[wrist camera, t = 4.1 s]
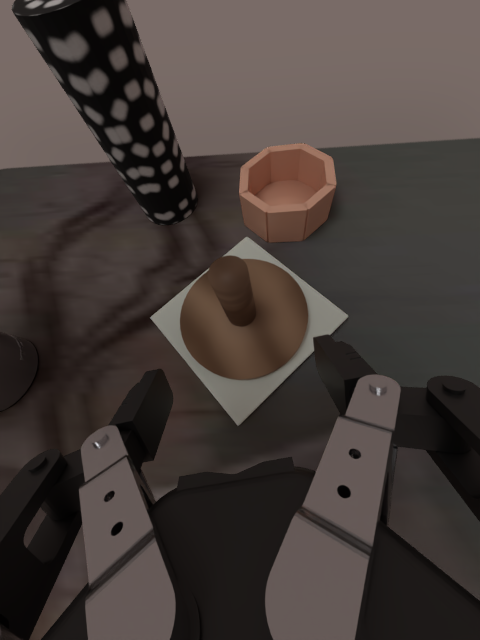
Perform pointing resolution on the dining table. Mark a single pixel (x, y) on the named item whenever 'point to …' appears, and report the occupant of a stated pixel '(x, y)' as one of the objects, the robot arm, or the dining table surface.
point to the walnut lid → (243, 318)
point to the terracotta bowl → (287, 192)
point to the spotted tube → (114, 96)
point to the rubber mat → (251, 393)
